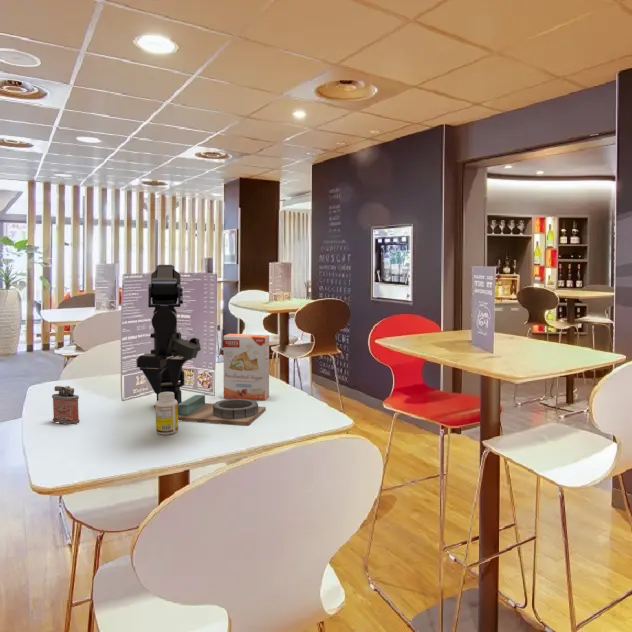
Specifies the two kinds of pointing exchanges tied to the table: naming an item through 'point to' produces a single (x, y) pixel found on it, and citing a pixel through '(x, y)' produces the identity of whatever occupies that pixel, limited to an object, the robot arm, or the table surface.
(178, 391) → the robot arm
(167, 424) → the supplement bottle
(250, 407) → the ring
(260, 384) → the cracker box
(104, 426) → the table surface
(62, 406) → the lighter
